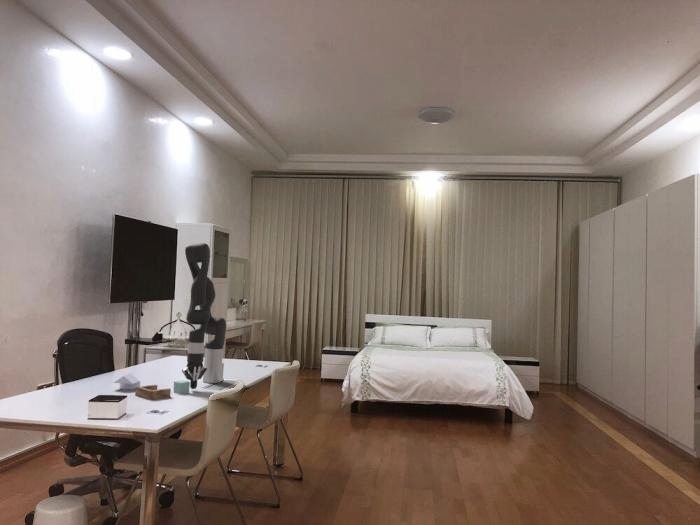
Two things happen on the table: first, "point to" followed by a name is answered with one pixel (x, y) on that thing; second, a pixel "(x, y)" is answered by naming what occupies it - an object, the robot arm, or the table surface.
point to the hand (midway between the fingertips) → (193, 388)
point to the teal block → (181, 387)
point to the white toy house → (128, 382)
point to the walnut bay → (152, 392)
